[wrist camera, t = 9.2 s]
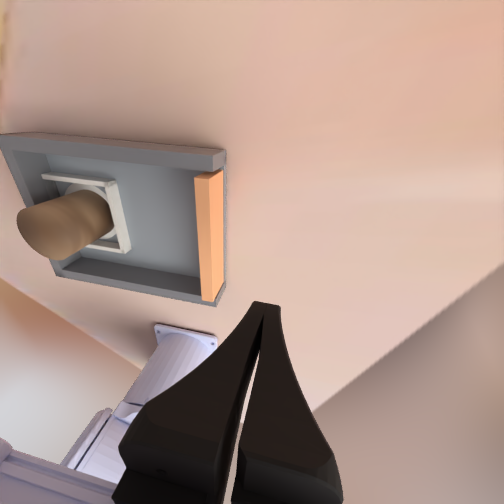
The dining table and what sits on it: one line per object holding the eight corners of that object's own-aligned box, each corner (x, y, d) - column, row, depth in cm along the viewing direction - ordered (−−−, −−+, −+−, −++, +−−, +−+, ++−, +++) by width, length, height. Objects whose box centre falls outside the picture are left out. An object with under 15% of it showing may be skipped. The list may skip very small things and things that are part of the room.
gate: (223, 281, 23) (212, 302, 21) (213, 279, 23) (201, 300, 21) (223, 170, 18) (208, 179, 15) (210, 168, 18) (194, 177, 16)
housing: (225, 287, 24) (216, 307, 22) (79, 261, 27) (56, 276, 24) (226, 149, 18) (212, 155, 15) (32, 131, 20) (-6, 134, 18)
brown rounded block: (119, 236, 23) (77, 264, 19) (80, 230, 24) (31, 255, 20) (108, 192, 21) (57, 212, 17) (65, 187, 22) (6, 204, 18)
